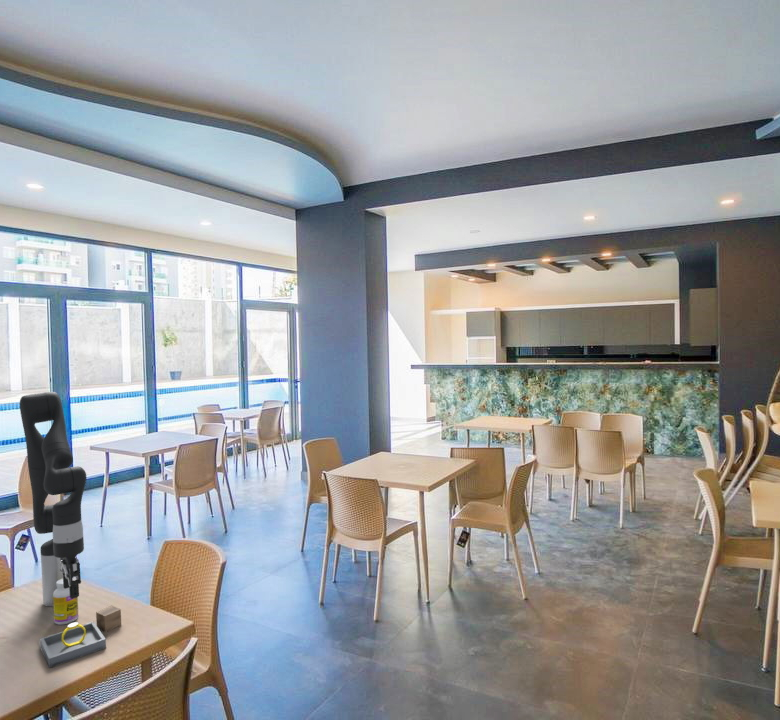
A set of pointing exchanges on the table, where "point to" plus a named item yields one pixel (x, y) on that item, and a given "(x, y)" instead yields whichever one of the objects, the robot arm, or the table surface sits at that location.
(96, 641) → the slate tray
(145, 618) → the table surface
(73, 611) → the supplement bottle
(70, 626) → the watch
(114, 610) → the walnut block
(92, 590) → the table surface
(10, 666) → the table surface
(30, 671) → the table surface
